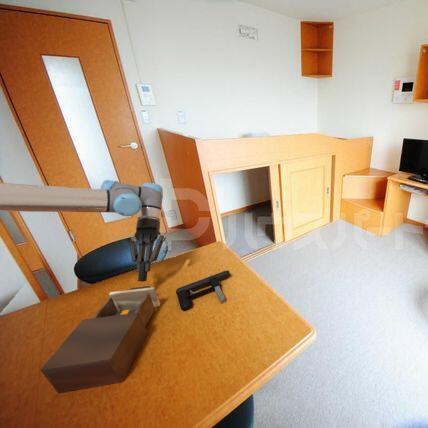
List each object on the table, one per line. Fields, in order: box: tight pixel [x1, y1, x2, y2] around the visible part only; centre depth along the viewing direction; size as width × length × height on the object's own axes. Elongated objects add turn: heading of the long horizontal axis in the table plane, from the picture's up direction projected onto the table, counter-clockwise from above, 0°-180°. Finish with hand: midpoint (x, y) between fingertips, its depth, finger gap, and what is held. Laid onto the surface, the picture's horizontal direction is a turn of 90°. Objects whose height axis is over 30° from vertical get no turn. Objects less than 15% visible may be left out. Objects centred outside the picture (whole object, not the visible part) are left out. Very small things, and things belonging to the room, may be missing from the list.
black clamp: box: [175, 269, 231, 311], centre depth 91 cm, size 3×20×16 cm
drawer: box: [92, 285, 161, 327], centre depth 79 cm, size 18×13×8 cm
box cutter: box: [116, 309, 137, 315], centre depth 78 cm, size 8×3×3 cm, turn 101°
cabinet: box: [39, 312, 149, 394], centre depth 66 cm, size 15×15×10 cm
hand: (142, 281), depth 87 cm, fingers closed
